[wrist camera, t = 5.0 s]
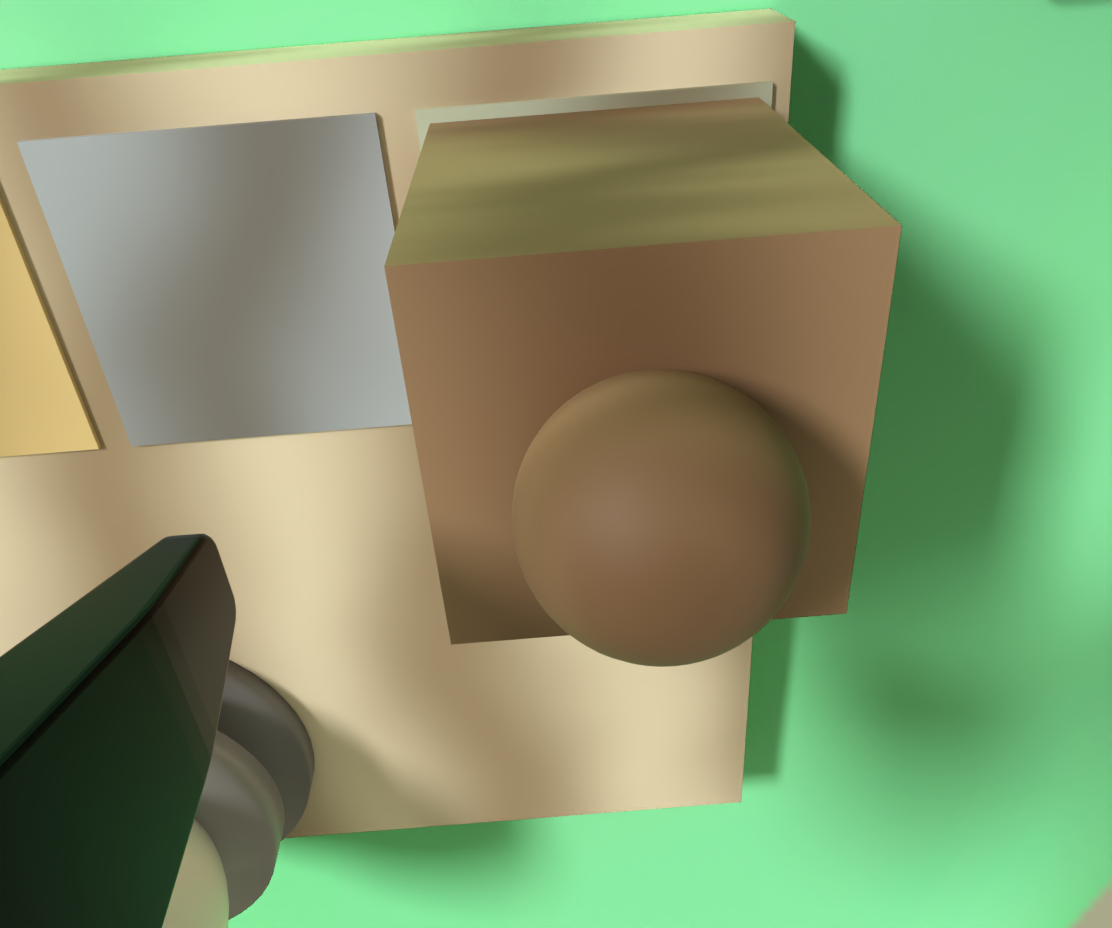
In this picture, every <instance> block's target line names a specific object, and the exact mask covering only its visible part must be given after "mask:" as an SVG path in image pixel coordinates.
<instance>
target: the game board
mask: <svg viewBox="0 0 1112 928" xmlns="http://www.w3.org/2000/svg"><path fill="white" fill-rule="evenodd" d="M794 31H795V21H794V20H792V19H790V18H788V17H786V16H784V15H782V14H780V13H778V12H776V11H774V10H772V9H759V10H746V11H733V12H721V13H708V14H696V15H683V16H670V17H658V18H645V19H633V20H620V21H607V22H595V23H582V24H570V25H557V26H545V27H532V28H519V29H507V30H494V31H482V32H469V33H456V34H444V35H431V36H419V37H406V38H393V39H381V40H368V41H356V42H343V43H331V44H318V45H305V46H293V47H280V48H268V49H255V50H242V51H230V52H217V53H205V54H192V55H180V56H167V57H154V58H142V59H129V60H117V61H104V62H91V63H79V64H66V65H54V66H41V67H28V68H16V69H3V70H0V656H2V655H3V654H5V653H6V652H7V651H9V650H10V649H11V648H13V647H14V646H16V645H17V644H18V643H20V642H21V641H22V640H24V639H25V638H27V637H28V636H29V635H31V634H32V633H33V632H35V631H36V630H38V629H39V628H40V627H42V626H43V625H44V624H46V623H47V622H49V621H50V620H51V619H53V618H54V617H55V616H57V615H58V614H60V613H61V612H62V611H64V610H65V609H66V608H68V607H69V606H71V605H72V604H73V603H75V602H76V601H77V600H79V599H80V598H82V597H83V596H84V595H86V594H87V593H88V592H90V591H91V590H93V589H94V588H95V587H97V586H98V585H99V584H101V583H102V582H104V581H105V580H106V579H108V578H109V577H110V576H112V575H113V574H115V573H116V572H117V571H119V570H120V569H121V568H123V567H124V566H126V565H127V564H128V563H130V562H131V561H132V560H134V559H135V558H137V557H138V556H139V555H141V554H142V553H144V552H145V551H146V550H148V549H149V548H150V547H152V546H153V545H155V544H156V543H157V542H159V541H160V540H162V539H163V538H165V537H168V536H175V535H189V534H206V535H208V536H210V537H211V538H212V539H213V540H214V542H215V544H216V546H217V548H218V551H219V554H220V557H221V560H222V563H223V566H224V569H225V572H226V574H227V577H228V580H229V583H230V586H231V589H232V592H233V595H234V598H235V604H236V622H235V628H234V634H233V640H232V646H231V651H230V657H229V663H228V669H227V675H226V681H225V687H224V692H223V698H222V704H221V710H220V716H219V722H218V728H217V730H218V731H220V732H222V733H223V734H225V735H227V736H228V737H230V738H231V739H233V740H234V741H235V742H237V743H238V744H240V745H241V746H242V747H244V748H245V749H246V750H247V751H248V752H250V753H251V754H252V755H253V756H254V757H255V758H256V759H257V760H258V761H259V762H260V763H261V764H262V765H263V766H264V768H265V769H266V770H267V771H268V773H269V774H270V776H271V777H272V779H273V780H274V782H275V783H276V786H277V788H278V790H279V792H280V794H281V797H282V801H283V805H284V813H285V823H284V828H283V834H282V838H281V841H282V840H283V839H284V838H291V837H304V836H316V835H329V834H342V833H354V832H367V831H380V830H392V829H405V828H418V827H430V826H443V825H456V824H468V823H481V822H494V821H506V820H519V819H531V818H544V817H557V816H569V815H582V814H595V813H607V812H620V811H633V810H645V809H658V808H671V807H683V806H696V805H709V804H721V803H734V802H741V798H742V784H743V769H744V755H745V740H746V726H747V711H748V697H749V682H750V668H751V653H752V639H753V636H752V637H751V638H749V639H748V640H747V641H745V642H744V643H742V644H741V645H739V646H737V647H736V648H734V649H732V650H730V651H728V652H726V653H724V654H721V655H719V656H717V657H714V658H711V659H708V660H705V661H702V662H697V663H693V664H688V665H681V666H669V667H655V666H643V665H637V664H632V663H628V662H624V661H621V660H617V659H613V658H611V657H608V656H605V655H603V654H600V653H598V652H596V651H594V650H593V649H591V648H589V647H587V646H585V645H584V644H582V643H581V642H579V641H578V640H576V639H575V638H573V637H572V636H571V635H567V636H554V637H542V638H529V639H516V640H504V641H491V642H478V643H466V644H453V645H451V641H450V636H449V630H448V624H447V619H446V613H445V607H444V602H443V596H442V590H441V585H440V579H439V573H438V568H437V562H436V556H435V551H434V545H433V540H432V534H431V528H430V523H429V517H428V511H427V506H426V500H425V494H424V489H423V483H422V477H421V472H420V466H419V460H418V455H417V449H416V444H415V438H414V432H413V427H412V421H411V415H410V410H409V404H408V398H407V393H406V387H405V381H404V376H403V370H402V364H401V359H400V353H399V348H398V342H397V336H396V331H395V325H394V319H393V314H392V308H391V302H390V297H389V291H388V285H387V280H386V274H385V268H384V265H385V262H386V259H387V256H388V253H389V250H390V246H391V243H392V240H393V237H394V234H395V231H396V228H397V225H398V221H399V218H400V215H401V212H402V209H403V206H404V203H405V200H406V196H407V193H408V190H409V187H410V184H411V181H412V178H413V175H414V172H415V168H416V165H417V162H418V159H419V156H420V153H421V150H422V147H423V143H424V140H425V137H426V134H427V131H428V128H429V125H430V123H442V122H455V121H468V120H480V119H493V118H505V117H518V116H531V115H543V114H556V113H568V112H581V111H594V110H606V109H619V108H631V107H644V106H657V105H669V104H682V103H694V102H707V101H720V100H732V99H745V98H757V97H759V98H760V99H761V100H762V101H764V102H765V103H766V104H767V105H768V106H769V107H770V108H771V109H773V110H774V111H775V112H776V113H777V114H778V115H779V116H780V117H781V118H783V119H784V120H785V121H786V122H787V123H788V118H789V104H790V89H791V75H792V60H793V46H794Z"/></svg>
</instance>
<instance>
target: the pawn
mask: <svg viewBox="0 0 1112 928" xmlns="http://www.w3.org/2000/svg"><path fill="white" fill-rule="evenodd" d="M901 227H902V225H901V224H900V223H899V222H898V221H896V220H895V219H894V218H893V217H892V216H891V215H890V214H889V213H887V212H886V211H885V210H884V209H883V208H882V207H881V206H880V205H879V204H877V203H876V202H875V201H874V200H873V199H872V198H871V197H870V196H869V195H867V194H866V193H865V192H864V191H863V190H862V189H861V188H860V187H858V186H857V185H856V184H855V183H854V182H853V181H852V180H851V179H850V178H848V177H847V176H846V175H845V174H844V173H843V172H842V171H841V170H839V169H838V168H837V167H836V166H835V165H834V164H833V163H832V162H831V161H829V160H828V159H827V158H826V157H825V156H824V155H823V154H822V153H821V152H819V151H818V150H817V149H816V148H815V147H814V146H813V145H812V144H810V143H809V142H808V141H807V140H806V139H805V138H804V137H803V136H802V135H800V134H799V133H798V132H797V131H796V130H795V129H794V128H793V127H791V126H790V125H789V124H788V123H787V122H786V121H785V120H784V119H783V118H781V117H780V116H779V115H778V114H777V113H776V112H775V111H774V110H773V109H771V108H770V107H769V106H768V105H767V104H766V103H765V102H764V101H762V100H761V99H760V98H759V97H757V98H745V99H732V100H720V101H707V102H694V103H682V104H669V105H657V106H644V107H631V108H619V109H606V110H594V111H581V112H568V113H556V114H543V115H531V116H518V117H505V118H493V119H480V120H468V121H455V122H442V123H430V125H429V128H428V131H427V134H426V137H425V140H424V143H423V147H422V150H421V153H420V156H419V159H418V162H417V165H416V168H415V172H414V175H413V178H412V181H411V184H410V187H409V190H408V193H407V196H406V200H405V203H404V206H403V209H402V212H401V215H400V218H399V221H398V225H397V228H396V231H395V234H394V237H393V240H392V243H391V246H390V250H389V253H388V256H387V259H386V262H385V265H384V268H385V274H386V280H387V285H388V291H389V297H390V302H391V308H392V314H393V319H394V325H395V331H396V336H397V342H398V348H399V353H400V359H401V364H402V370H403V376H404V381H405V387H406V393H407V398H408V404H409V410H410V415H411V421H412V427H413V432H414V438H415V444H416V449H417V455H418V460H419V466H420V472H421V477H422V483H423V489H424V494H425V500H426V506H427V511H428V517H429V523H430V528H431V534H432V540H433V545H434V551H435V556H436V562H437V568H438V573H439V579H440V585H441V590H442V596H443V602H444V607H445V613H446V619H447V624H448V630H449V636H450V641H451V645H453V644H466V643H478V642H491V641H504V640H516V639H529V638H542V637H554V636H567V635H571V636H572V637H573V638H575V639H576V640H578V641H579V642H581V643H582V644H584V645H585V646H587V647H589V648H591V649H593V650H594V651H596V652H598V653H600V654H603V655H605V656H608V657H611V658H613V659H617V660H621V661H624V662H628V663H632V664H637V665H643V666H655V667H669V666H681V665H688V664H693V663H697V662H702V661H705V660H708V659H711V658H714V657H717V656H719V655H721V654H724V653H726V652H728V651H730V650H732V649H734V648H736V647H737V646H739V645H741V644H742V643H744V642H745V641H747V640H748V639H749V638H751V637H752V636H753V635H755V634H756V633H757V632H758V631H759V630H761V629H762V628H763V627H764V626H765V625H766V624H767V623H768V622H769V621H770V620H771V619H782V618H795V617H807V616H820V615H832V614H845V613H847V606H848V599H849V592H850V585H851V578H852V571H853V564H854V557H855V550H856V543H857V536H858V529H859V522H860V515H861V508H862V501H863V493H864V486H865V479H866V472H867V465H868V458H869V451H870V444H871V437H872V430H873V423H874V416H875V409H876V402H877V395H878V388H879V381H880V374H881V367H882V360H883V353H884V346H885V339H886V332H887V325H888V318H889V311H890V304H891V297H892V290H893V283H894V276H895V269H896V262H897V255H898V248H899V241H900V234H901Z"/></svg>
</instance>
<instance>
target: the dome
mask: <svg viewBox="0 0 1112 928" xmlns="http://www.w3.org/2000/svg"><path fill="white" fill-rule="evenodd" d="M284 823H285V813H284V805H283V801H282V797H281V794H280V792H279V790H278V788H277V786H276V783H275V782H274V780H273V779H272V777H271V776H270V774H269V773H268V771H267V770H266V769H265V768H264V766H263V765H262V764H261V763H260V762H259V761H258V760H257V759H256V758H255V757H254V756H253V755H252V754H251V753H250V752H248V751H247V750H246V749H245V748H244V747H242V746H241V745H240V744H238V743H237V742H235V741H234V740H233V739H231V738H230V737H228V736H227V735H225V734H223V733H222V732H220V731H218V730H217V733H216V739H215V744H214V749H213V754H212V759H211V763H210V766H209V770H208V774H207V778H206V781H205V785H204V788H203V792H202V795H201V798H200V802H199V805H198V808H197V812H196V815H195V819H194V822H193V825H192V829H191V832H190V835H189V839H188V842H187V846H186V849H185V852H184V856H183V859H182V862H181V866H180V869H179V873H178V876H177V879H176V883H175V886H174V889H173V893H172V896H171V899H170V903H169V906H168V910H167V913H166V916H165V920H164V923H163V926H162V928H228V920H229V919H231V918H233V917H235V916H236V915H238V914H240V913H242V912H243V911H244V910H246V909H247V908H248V907H250V906H251V905H252V904H253V903H254V902H255V901H256V900H257V899H258V898H259V897H260V896H261V895H262V893H263V892H264V890H265V889H266V887H267V886H268V885H269V882H270V880H271V877H272V875H273V872H274V868H275V863H276V859H277V855H278V851H279V846H280V842H281V838H282V834H283V828H284Z"/></svg>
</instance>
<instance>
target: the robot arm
mask: <svg viewBox="0 0 1112 928" xmlns="http://www.w3.org/2000/svg"><path fill="white" fill-rule="evenodd" d="M235 622H236V604H235V598H234V595H233V592H232V589H231V586H230V583H229V580H228V577H227V574H226V572H225V569H224V566H223V563H222V560H221V557H220V554H219V551H218V548H217V546H216V544H215V542H214V540H213V539H212V538H211V537H210V536H208V535H206V534H189V535H175V536H168V537H165V538H163V539H162V540H160V541H159V542H157V543H156V544H155V545H153V546H152V547H150V548H149V549H148V550H146V551H145V552H144V553H142V554H141V555H139V556H138V557H137V558H135V559H134V560H132V561H131V562H130V563H128V564H127V565H126V566H124V567H123V568H121V569H120V570H119V571H117V572H116V573H115V574H113V575H112V576H110V577H109V578H108V579H106V580H105V581H104V582H102V583H101V584H99V585H98V586H97V587H95V588H94V589H93V590H91V591H90V592H88V593H87V594H86V595H84V596H83V597H82V598H80V599H79V600H77V601H76V602H75V603H73V604H72V605H71V606H69V607H68V608H66V609H65V610H64V611H62V612H61V613H60V614H58V615H57V616H55V617H54V618H53V619H51V620H50V621H49V622H47V623H46V624H44V625H43V626H42V627H40V628H39V629H38V630H36V631H35V632H33V633H32V634H31V635H29V636H28V637H27V638H25V639H24V640H22V641H21V642H20V643H18V644H17V645H16V646H14V647H13V648H11V649H10V650H9V651H7V652H6V653H5V654H3V655H2V656H0V928H162V926H163V923H164V920H165V916H166V913H167V910H168V906H169V903H170V899H171V896H172V893H173V889H174V886H175V883H176V879H177V876H178V873H179V869H180V866H181V862H182V859H183V856H184V852H185V849H186V846H187V842H188V839H189V835H190V832H191V829H192V825H193V822H194V819H195V815H196V812H197V808H198V805H199V802H200V798H201V795H202V792H203V788H204V785H205V781H206V778H207V774H208V770H209V766H210V763H211V759H212V754H213V749H214V744H215V739H216V733H217V728H218V722H219V716H220V710H221V704H222V698H223V692H224V687H225V681H226V675H227V669H228V663H229V657H230V651H231V646H232V640H233V634H234V628H235Z"/></svg>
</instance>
